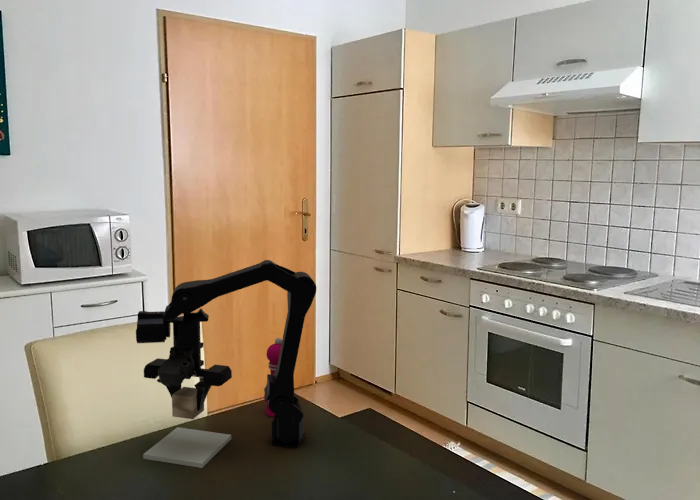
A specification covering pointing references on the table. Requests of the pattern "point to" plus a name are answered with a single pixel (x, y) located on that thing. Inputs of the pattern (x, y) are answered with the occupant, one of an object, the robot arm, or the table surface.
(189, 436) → the sage plate
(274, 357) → the pepper mill
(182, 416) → the birch cube
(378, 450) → the table surface
